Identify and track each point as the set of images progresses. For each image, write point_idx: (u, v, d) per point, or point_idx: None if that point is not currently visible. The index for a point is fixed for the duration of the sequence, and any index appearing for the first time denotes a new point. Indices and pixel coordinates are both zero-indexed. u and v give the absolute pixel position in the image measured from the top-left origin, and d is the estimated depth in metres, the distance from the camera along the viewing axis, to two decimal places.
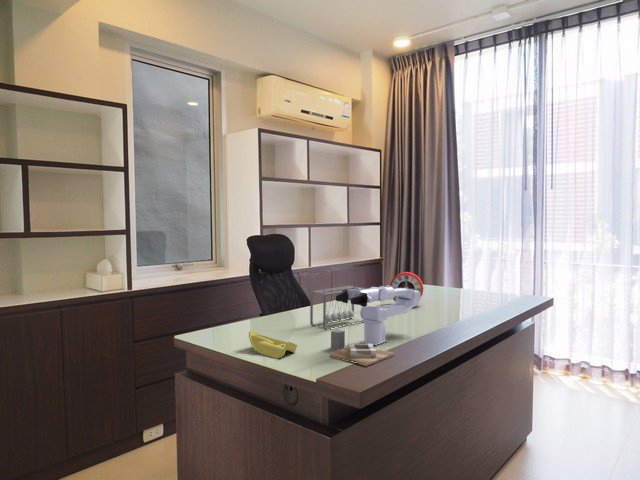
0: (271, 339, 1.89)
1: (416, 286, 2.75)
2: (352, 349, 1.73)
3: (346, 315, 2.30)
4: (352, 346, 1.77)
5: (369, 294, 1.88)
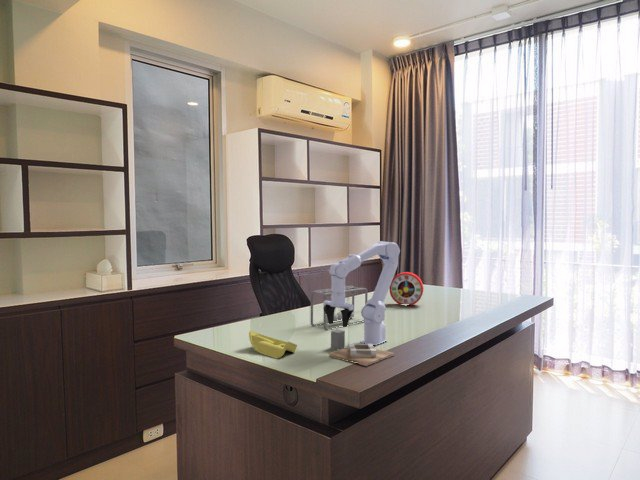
0: (271, 339, 1.89)
1: (416, 286, 2.75)
2: (352, 349, 1.73)
3: None
4: (352, 346, 1.77)
5: (341, 294, 1.84)
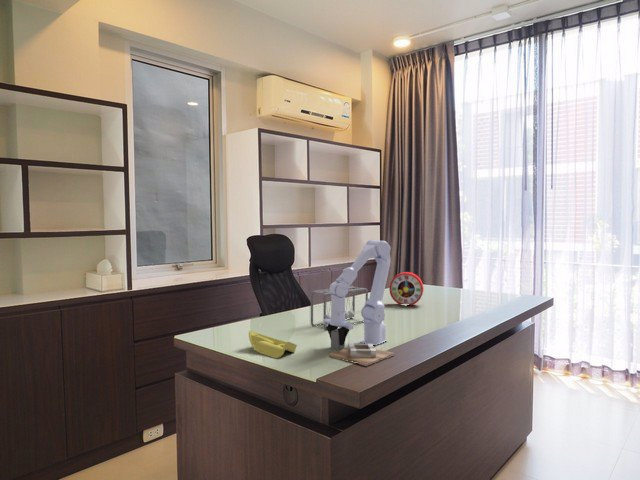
0: (271, 339, 1.89)
1: (416, 286, 2.75)
2: (352, 349, 1.73)
3: (346, 315, 2.29)
4: (352, 346, 1.77)
5: (341, 313, 1.84)
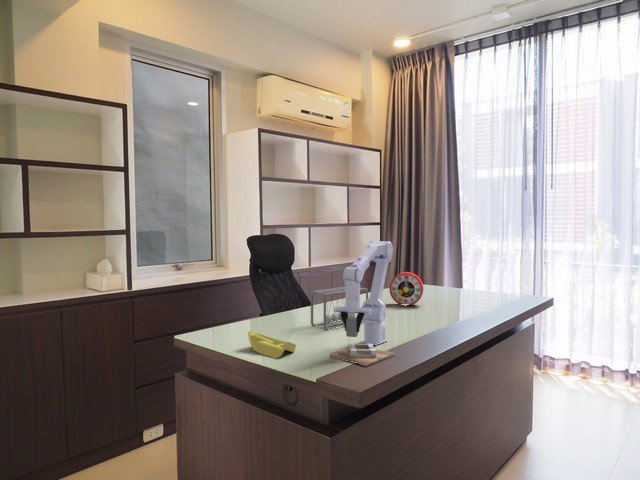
0: (271, 339, 1.89)
1: (416, 286, 2.75)
2: (352, 349, 1.73)
3: None
4: (352, 346, 1.77)
5: (358, 298, 1.78)
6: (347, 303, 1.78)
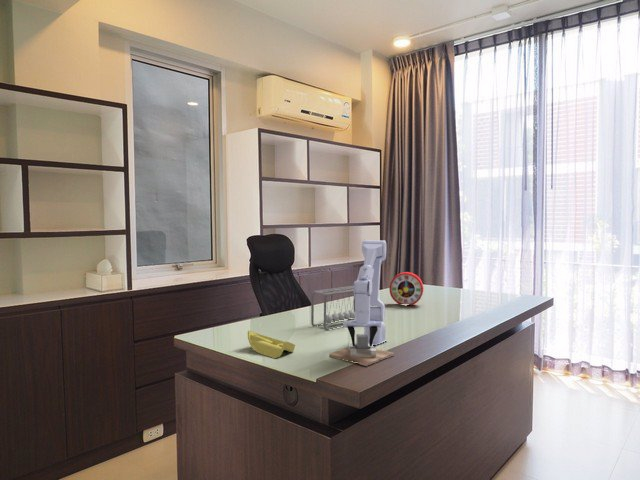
0: (270, 339, 1.89)
1: (416, 286, 2.75)
2: (352, 349, 1.73)
3: (347, 315, 2.29)
4: (352, 346, 1.77)
5: (369, 312, 1.75)
6: (359, 317, 1.74)
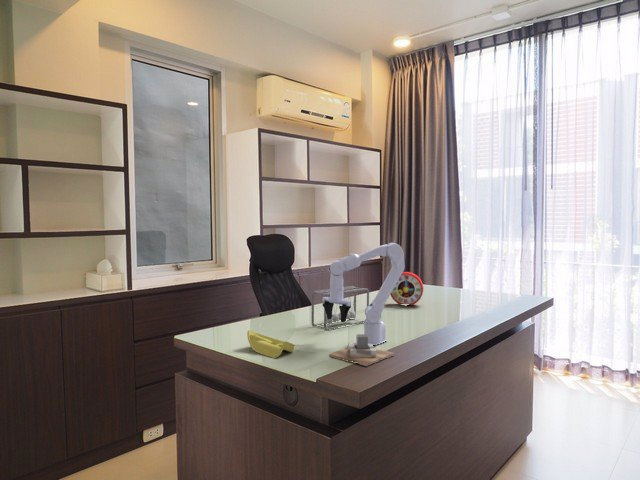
0: (270, 338, 1.89)
1: (416, 286, 2.75)
2: (352, 349, 1.73)
3: (347, 315, 2.29)
4: (352, 346, 1.77)
5: (339, 290, 1.92)
6: (330, 294, 1.94)
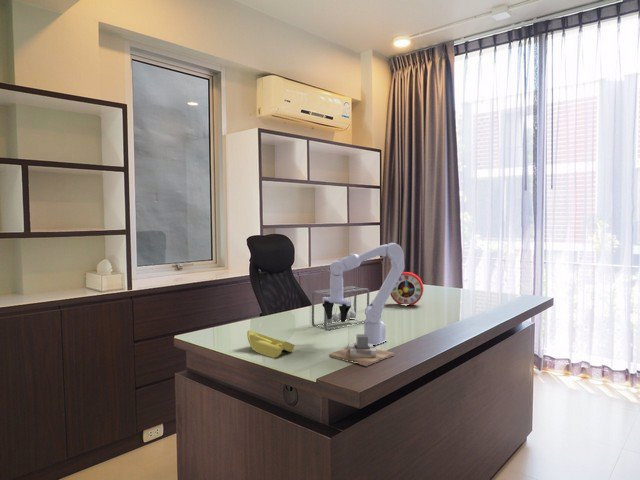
0: (270, 338, 1.89)
1: (416, 286, 2.75)
2: (352, 349, 1.73)
3: (348, 315, 2.29)
4: (352, 346, 1.77)
5: (339, 290, 1.92)
6: (330, 294, 1.95)
